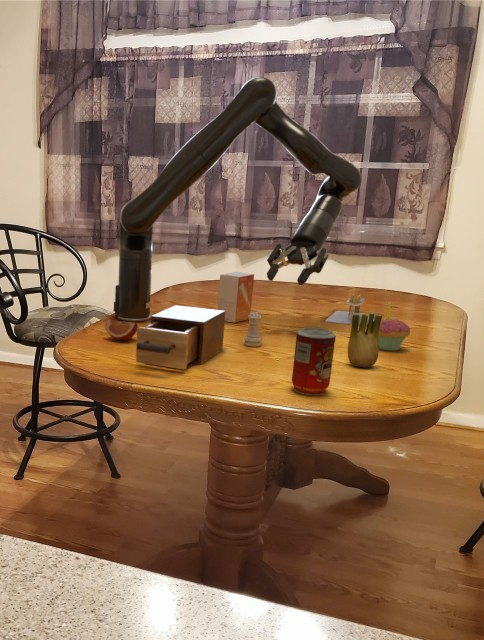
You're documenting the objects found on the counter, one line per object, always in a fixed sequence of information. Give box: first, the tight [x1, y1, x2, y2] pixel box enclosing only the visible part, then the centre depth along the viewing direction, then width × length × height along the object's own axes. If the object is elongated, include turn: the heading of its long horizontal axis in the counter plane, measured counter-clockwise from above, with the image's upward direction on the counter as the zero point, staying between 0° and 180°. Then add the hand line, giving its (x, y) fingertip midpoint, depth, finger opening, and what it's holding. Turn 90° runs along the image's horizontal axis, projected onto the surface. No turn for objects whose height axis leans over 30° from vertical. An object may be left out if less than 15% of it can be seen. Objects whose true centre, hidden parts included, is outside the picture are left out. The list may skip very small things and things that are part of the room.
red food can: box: [291, 326, 336, 396], centre depth 133 cm, size 7×7×12 cm
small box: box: [217, 271, 255, 323], centre depth 195 cm, size 8×6×13 cm
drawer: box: [135, 320, 201, 370], centre depth 150 cm, size 18×11×8 cm, turn 149°
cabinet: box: [150, 304, 226, 365], centre depth 160 cm, size 15×13×10 cm
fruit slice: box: [104, 318, 139, 342], centre depth 173 cm, size 8×7×5 cm
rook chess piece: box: [243, 311, 263, 348], centre depth 168 cm, size 4×4×8 cm
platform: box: [325, 293, 377, 327], centre depth 198 cm, size 12×18×7 cm, turn 148°
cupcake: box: [379, 299, 411, 352], centre depth 164 cm, size 9×8×12 cm
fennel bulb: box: [347, 311, 383, 369], centre depth 150 cm, size 6×5×12 cm
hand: (284, 280), depth 172 cm, fingers open, 8 cm apart
